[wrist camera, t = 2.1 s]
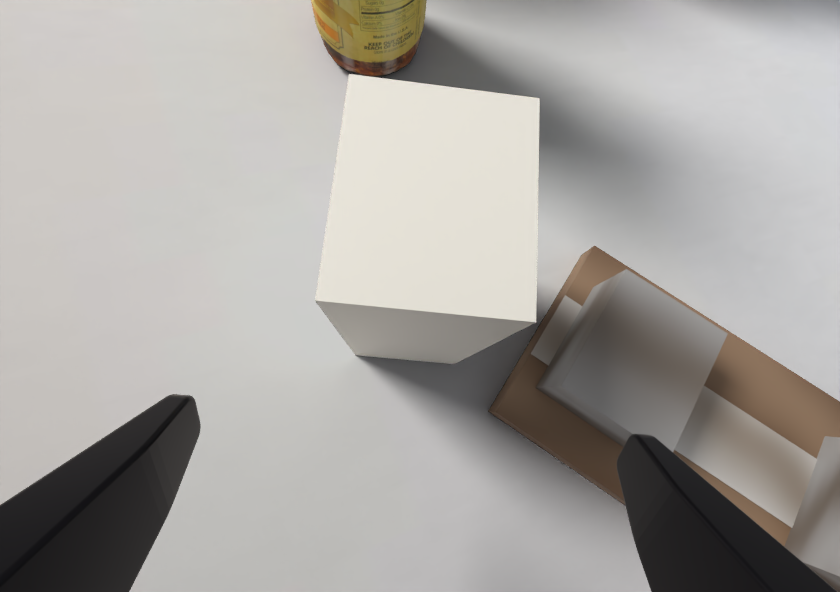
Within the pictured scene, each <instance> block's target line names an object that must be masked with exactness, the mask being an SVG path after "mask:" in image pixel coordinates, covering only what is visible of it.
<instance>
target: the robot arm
mask: <svg viewBox="0 0 840 592" xmlns="http://www.w3.org/2000/svg"><path fill="white" fill-rule="evenodd" d="M199 433H200V420H199V415H198V411H197V407H196V402H195V399H194V398H193V397H192V396H189V395H177V394H172V395H169V396H167V397H165V398H164V399H162V400H161V401H159V402H158V403H156V404H155V405H153V406H152V407H150V408H148V409H147V410H145V411H144V412H142V413H141V414H139V415H138V416H136V417H135V418H133V419H132V420H130V421H129V422H127V423H125V424H124V425H122V426H121V427H119V428H118V429H116V430H115V431H113V432H112V433H110V434H109V435H107V436H106V437H104V438H102V439H101V440H99V441H98V442H96V443H95V444H93V445H92V446H90V447H89V448H87V449H86V450H84V451H83V452H81V453H79V454H78V455H76V456H75V457H73V458H72V459H70V460H69V461H67V462H66V463H64V464H63V465H61V466H60V467H58V468H56V469H55V470H53V471H52V472H50V473H49V474H47V475H46V476H44V477H43V478H41V479H40V480H38V481H37V482H35V483H33V484H32V485H30V486H29V487H27V488H26V489H24V490H23V491H21V492H20V493H18V494H17V495H15V496H14V497H12V498H10V499H9V500H7V501H6V502H4V503H3V504H1V505H0V592H129V591H130V589H131V587H132V585H133V583H134V581H135V579H136V577H137V575H138V573H139V571H140V569H141V567H142V565H143V563H144V561H145V559H146V557H147V555H148V553H149V552H150V550H151V548H152V546H153V544H154V542H155V540H156V538H157V536H158V534H159V532H160V530H161V528H162V526H163V524H164V522H165V520H166V518H167V516H168V513H169V511H170V509H171V507H172V504H173V502H174V499H175V497H176V494H177V492H178V489H179V486H180V484H181V481H182V479H183V476H184V473H185V471H186V468H187V465H188V463H189V460H190V458H191V455H192V452H193V450H194V447H195V445H196V442H197V439H198V437H199ZM617 472H618V476H619V480H620V484H621V489H622V493H623V497H624V501H625V505H626V509H627V513H628V518H629V522H630V526H631V530H632V534H633V537H634V541H635V544H636V548H637V551H638V554H639V557H640V560H641V563H642V565H643V568H644V571H645V574H646V577H647V580H648V583H649V586H650V588H651V591H652V592H837V591H836V590H835V589H834V588H833V587H832V586H830V585H829V584H828V583H827V582H826V581H824V580H823V579H822V578H821V577H820V576H819V575H817V574H816V573H815V572H814V571H813V570H811V569H810V568H809V567H808V566H807V565H806V564H804V563H803V562H802V561H801V560H800V559H798V558H797V557H796V556H795V555H794V554H793V553H791V552H790V551H789V550H788V549H787V548H785V547H784V546H783V545H782V544H781V543H780V542H778V541H777V540H776V539H775V538H774V537H772V536H771V535H770V534H769V533H768V532H767V531H765V530H764V529H763V528H762V527H761V526H759V525H758V524H757V523H756V522H755V521H754V520H752V519H751V518H750V517H749V516H748V515H746V514H745V513H744V512H743V511H742V510H741V509H739V508H738V507H737V506H736V505H735V504H733V503H732V502H731V501H730V500H729V499H728V498H726V497H725V496H724V495H723V494H722V493H720V492H719V491H718V490H717V489H716V488H715V487H713V486H712V485H711V484H710V483H709V482H707V481H706V480H705V479H704V478H703V477H702V476H700V475H699V474H698V473H697V472H696V471H694V470H693V469H692V468H691V467H690V466H689V465H687V464H686V463H685V462H684V461H683V460H681V459H680V458H679V457H678V456H677V455H676V454H674V453H673V452H672V451H671V450H670V449H669V448H667V447H666V446H665V445H664V444H663V443H661V442H660V441H659V440H658V439H657V438H655V437H654V436H651V435H645V434H632V435H631V436H630V437H629V438H628V440H627V442H626V443H625V445H624V447H623V449H622V451H621V452H620V454H619V456H618V458H617Z"/></svg>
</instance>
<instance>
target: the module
mask: <svg viewBox="0 0 840 592" xmlns="http://www.w3.org/2000/svg"><path fill="white" fill-rule="evenodd" d="M539 113H540V98H534V97H526V96H518V95H510V94H503V93H495V92H487V91H479V90H471V89H463V88H456V87H448V86H440V85H432V84H424V83H416V82H409V81H401V80H393V79H385V78H377V77H369V76H362V75H354V74H349V77H348V84H347V91H346V97H345V104H344V111H343V117H342V124H341V131H340V137H339V144H338V151H337V157H336V164H335V171H334V177H333V184H332V191H331V197H330V204H329V211H328V217H327V224H326V231H325V237H324V244H323V251H322V257H321V264H320V271H319V277H318V284H317V291H316V297H315V301H316V303H317V304H318V305H319V307H320V308H321V309H322V311H323V312H324V313H325V315H326V316H327V317H328V319H329V320H330V322H331V323H332V324H333V326H334V327H335V328H336V330H337V331H338V332H339V334H340V335H341V336H342V338H343V339H344V341H345V342H346V343H347V345H348V346H349V347H350V349H351V350H352V351H353V353H354V354H355V355H359V356H369V357H380V358H391V359H402V360H413V361H424V362H435V363H446V364H456V363H458V362H460V361H462V360H464V359H466V358H467V357H469V356H471V355H473V354H475V353H477V352H479V351H481V350H483V349H485V348H487V347H489V346H491V345H493V344H495V343H497V342H499V341H501V340H503V339H505V338H507V337H508V336H510V335H512V334H514V333H516V332H518V331H520V330H522V329H524V328H526V327H528V326H530V325H532V324H534V323H536V302H537V239H538V176H539Z"/></svg>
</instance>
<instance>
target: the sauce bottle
mask: <svg viewBox="0 0 840 592" xmlns="http://www.w3.org/2000/svg"><path fill="white" fill-rule="evenodd" d="M311 2H312V7H313V12H314V17H315V23H316V25H317V28H318V30H319V33H320V34H321V38H322V40H323V42H324V45H325V47H326V49H327V51H328V53H329V54H330V55H331V56H332V58H333V59H334V61H335V62H336V63H337V64H338V65H339V66H341V67H342V68H344V69H345V70H348V71H353V72H355V73H357V74H362V75H364V76H382V75H388V74H390V73H392V72H394V71H395V72H396V71H398V70H399V69H401V68H402V67H405V66H406V65H407V64H409V63H410V61H411V59H412V58H413V56H414V54H415V53H416V50H417V47H418V44H419V40H420V35H421V33H422V30H423V26H424V20H425V11H426V0H311Z"/></svg>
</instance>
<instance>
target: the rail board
mask: <svg viewBox="0 0 840 592" xmlns="http://www.w3.org/2000/svg"><path fill="white" fill-rule="evenodd" d="M488 412H490V413H491V414H493V415H494V416H496V417H497V418H499V419H500V420H501V421H503V422H504V423H506V424H507V425H509V426H510V427H512V428H513V429H515V430H516V431H518V432H519V433H520V434H522V435H523V436H525V437H526V438H528V439H529V440H531V441H532V442H534V443H535V444H537V445H538V446H539V447H541V448H542V449H544V450H545V451H547V452H548V453H550V454H551V455H553V456H554V457H556V458H557V459H558V460H560V461H561V462H563V463H564V464H566V465H567V466H569V467H570V468H572V469H573V470H574V471H576V472H577V473H579V474H580V475H582V476H583V477H585V478H586V479H588V480H589V481H591V482H592V483H593V484H595V485H596V486H598V487H599V488H601V489H602V490H604V491H605V492H607V493H608V494H610V495H611V496H612V497H614V498H615V499H617V500H618V501H620V502H621V503H623V504H624V505H625V501H624V497H623V493H622V489H621V484H620V480H619V476H618V472H617V458H618V456H619V454H620V452H621V451H622V449H623V447H624V445H625V443H626V442H627V440H628V438H629V437H630V436H631V435H632V434H645V435H651V436H654V437H655V438H657V439H658V440H659V441H660V442H661V443H663V444H664V445H665V446H666V447H667V448H669V449H670V450H671V451H672V452H673V453H674V454H676V455H677V456H678V457H679V458H680V459H681V460H683V461H684V462H685V463H686V464H687V465H689V466H690V467H691V468H692V469H693V470H694V471H696V472H697V473H698V474H699V475H700V476H702V477H703V478H704V479H705V480H706V481H707V482H709V483H710V484H711V485H712V486H713V487H715V488H716V489H717V490H718V491H719V492H720V493H722V494H723V495H724V496H725V497H726V498H728V499H729V500H730V501H731V502H732V503H733V504H735V505H736V506H737V507H738V508H739V509H741V510H742V511H743V512H744V513H745V514H746V515H748V516H749V517H750V518H751V519H752V520H754V521H755V522H756V523H757V524H758V525H759V526H761V527H762V528H763V529H764V530H765V531H767V532H768V533H769V534H770V535H771V536H772V537H774V538H775V539H776V540H777V541H778V542H780V543H781V544H782V545H783V546H784V547H785V548H787V549H788V550H789V551H790V552H791V553H793V554H794V555H795V556H796V557H797V558H798V559H800V560H801V561H802V562H803V563H804V564H806V565H807V566H808V567H809V568H810V569H811V570H813V571H814V572H815V573H816V574H817V575H819V576H820V577H821V578H822V579H823V580H824V581H826V582H827V583H828V584H829V585H830V586H832V587H833V588H834V589H835V590H836V591H837V592H840V402H839V401H838V400H836V399H835V398H833V397H831V396H830V395H828V394H827V393H825V392H824V391H822V390H820V389H819V388H817V387H816V386H814V385H813V384H811V383H809V382H808V381H806V380H805V379H803V378H802V377H800V376H798V375H797V374H795V373H794V372H792V371H791V370H789V369H787V368H786V367H784V366H783V365H781V364H780V363H778V362H776V361H775V360H773V359H772V358H770V357H769V356H767V355H765V354H764V353H762V352H761V351H759V350H758V349H756V348H754V347H753V346H751V345H750V344H748V343H747V342H745V341H743V340H742V339H740V338H739V337H737V336H736V335H734V334H732V333H731V332H729V331H728V330H726V329H725V328H723V327H721V326H720V325H718V324H717V323H715V322H714V321H712V320H711V319H709V318H707V317H706V316H704V315H703V314H701V313H700V312H698V311H696V310H695V309H693V308H692V307H690V306H689V305H687V304H685V303H684V302H682V301H681V300H679V299H678V298H676V297H674V296H673V295H671V294H670V293H668V292H667V291H665V290H663V289H662V288H660V287H659V286H657V285H656V284H654V283H652V282H651V281H649V280H648V279H646V278H645V277H643V276H641V275H640V274H638V273H637V272H635V271H634V270H632V269H630V268H629V267H627V266H626V265H624V264H623V263H621V262H619V261H618V260H616V259H615V258H613V257H612V256H610V255H608V254H607V253H605V252H604V251H602V250H601V249H599V248H597V247H596V246H593V247H592V248H591V249H589V250H588V251H587V252H585V253H584V254H582V255H581V257H580V259H579V260H578V262H577V264H576V265H575V267H574V269H573V270H572V272H571V274H570V275H569V277H568V279H567V280H566V282H565V284H564V285H563V287H562V289H561V290H560V292H559V294H558V295H557V297H556V299H555V300H554V302H553V304H552V305H551V307H550V309H549V310H548V312H547V314H546V315H545V317H544V319H543V320H542V322H541V324H540V325H539V327H538V329H537V330H536V332H535V334H534V336H533V337H532V339H531V341H530V342H529V344H528V346H527V347H526V349H525V351H524V352H523V354H522V356H521V357H520V359H519V361H518V362H517V364H516V366H515V367H514V369H513V371H512V372H511V374H510V376H509V377H508V379H507V381H506V382H505V384H504V386H503V387H502V389H501V391H500V392H499V394H498V396H497V397H496V399H495V401H494V402H493V404H492V406H491V407H490V409H489V411H488Z"/></svg>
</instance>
